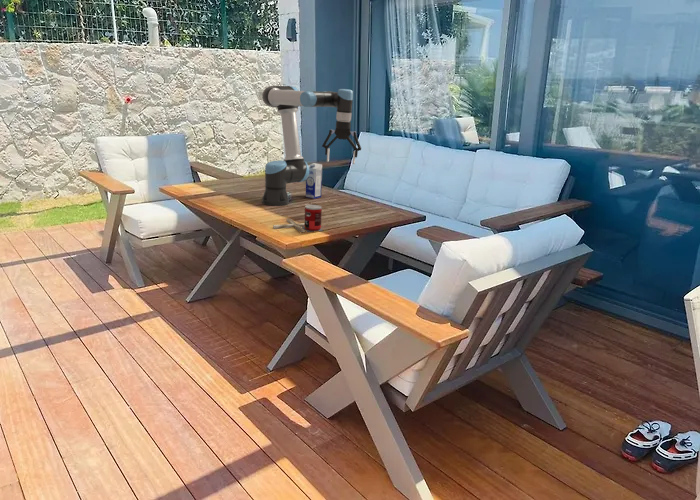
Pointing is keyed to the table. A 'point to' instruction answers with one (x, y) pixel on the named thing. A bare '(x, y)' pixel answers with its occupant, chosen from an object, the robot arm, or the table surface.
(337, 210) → the table surface
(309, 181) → the milk carton
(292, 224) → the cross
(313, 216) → the canned food
